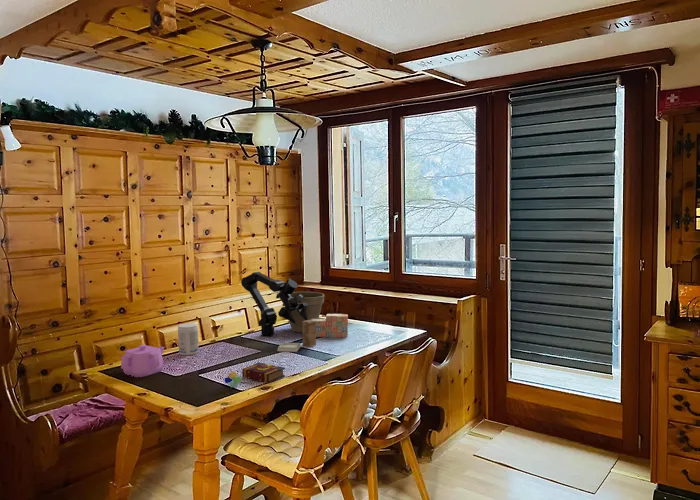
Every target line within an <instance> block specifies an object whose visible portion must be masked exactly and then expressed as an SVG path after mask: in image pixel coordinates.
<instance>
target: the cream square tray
mask: <svg viewBox="0 0 700 500" xmlns="http://www.w3.org/2000/svg"><path fill="white" fill-rule="evenodd" d="M300 348H301V343H300V342H282V343H280V345H278V347H277V352H288V353H289V352H290V353H291V352H293V353H297V352H298V350H299V349H300Z"/></svg>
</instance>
